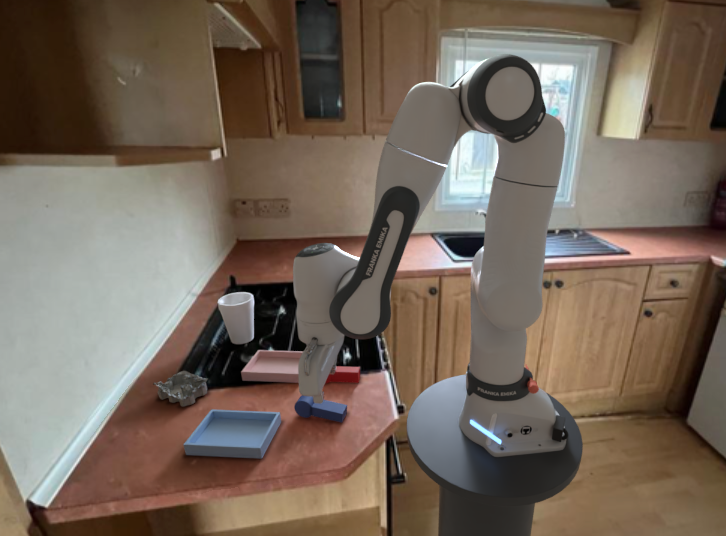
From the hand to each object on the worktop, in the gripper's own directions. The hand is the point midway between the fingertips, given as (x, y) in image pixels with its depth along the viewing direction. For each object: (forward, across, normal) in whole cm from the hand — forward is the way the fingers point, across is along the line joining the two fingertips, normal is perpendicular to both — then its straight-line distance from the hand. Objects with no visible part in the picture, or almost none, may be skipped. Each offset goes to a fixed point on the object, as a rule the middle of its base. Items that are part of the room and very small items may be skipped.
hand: (325, 386), depth 84 cm
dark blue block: (+8, +1, +3) cm, 9 cm away
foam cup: (+11, +34, +35) cm, 50 cm away
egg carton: (+11, +8, +37) cm, 39 cm away
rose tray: (+10, +19, +18) cm, 28 cm away
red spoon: (+10, +16, +2) cm, 19 cm away
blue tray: (+10, -5, +18) cm, 21 cm away
